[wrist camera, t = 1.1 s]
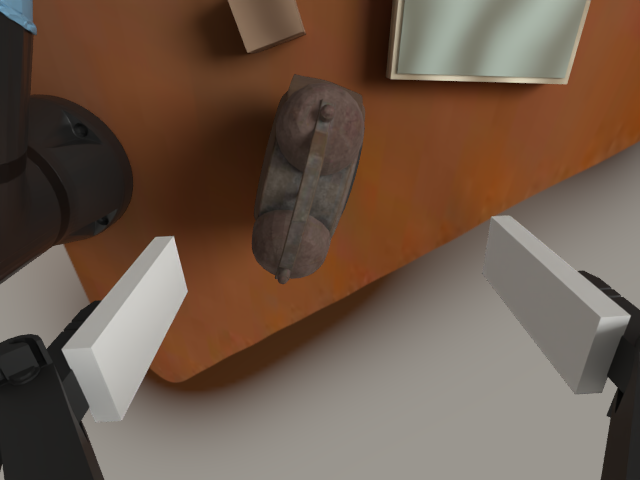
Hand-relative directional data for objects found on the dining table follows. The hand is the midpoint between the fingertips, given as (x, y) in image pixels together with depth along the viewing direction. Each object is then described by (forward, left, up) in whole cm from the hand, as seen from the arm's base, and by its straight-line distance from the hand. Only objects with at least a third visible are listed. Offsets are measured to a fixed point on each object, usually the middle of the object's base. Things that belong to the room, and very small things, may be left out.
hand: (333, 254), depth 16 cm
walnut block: (-5, +11, -26) cm, 29 cm away
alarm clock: (-1, -1, -26) cm, 26 cm away
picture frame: (+14, +12, -26) cm, 32 cm away
